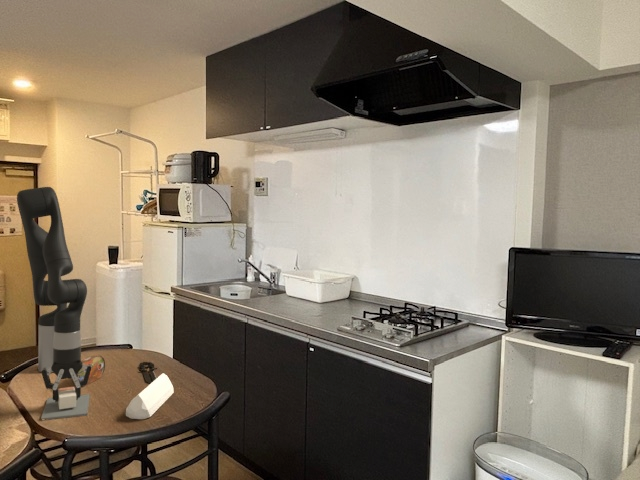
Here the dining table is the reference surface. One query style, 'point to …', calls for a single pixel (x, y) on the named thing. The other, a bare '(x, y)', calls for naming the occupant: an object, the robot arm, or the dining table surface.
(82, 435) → the dining table surface
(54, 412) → the mat
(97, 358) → the tin
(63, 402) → the card box
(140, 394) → the crystal
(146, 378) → the knife
